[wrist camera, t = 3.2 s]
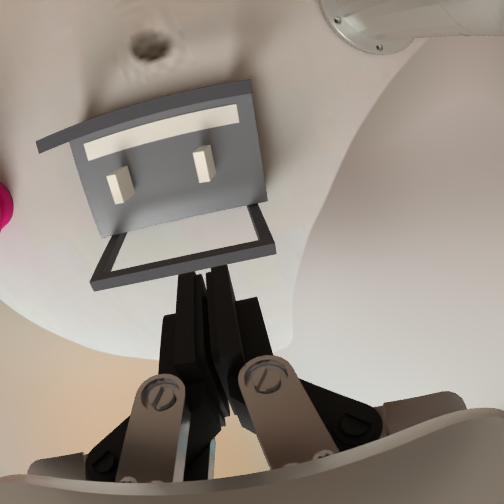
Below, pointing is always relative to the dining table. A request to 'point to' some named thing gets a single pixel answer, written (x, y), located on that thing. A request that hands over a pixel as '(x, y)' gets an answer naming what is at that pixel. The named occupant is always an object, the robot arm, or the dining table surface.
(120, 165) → the breaker panel
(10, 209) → the pepper mill
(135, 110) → the dark grey open frame
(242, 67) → the dining table surface
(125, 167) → the paddle
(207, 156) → the cream cuboid
